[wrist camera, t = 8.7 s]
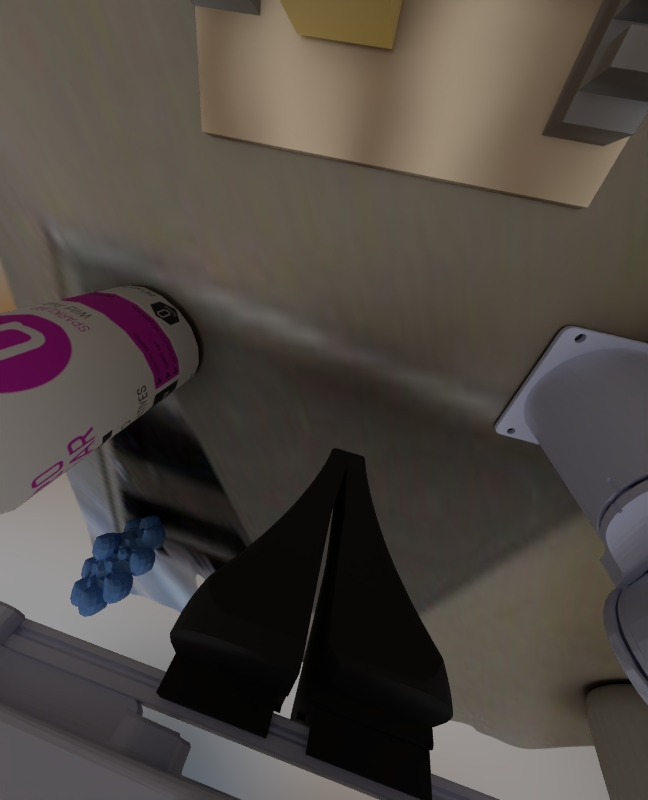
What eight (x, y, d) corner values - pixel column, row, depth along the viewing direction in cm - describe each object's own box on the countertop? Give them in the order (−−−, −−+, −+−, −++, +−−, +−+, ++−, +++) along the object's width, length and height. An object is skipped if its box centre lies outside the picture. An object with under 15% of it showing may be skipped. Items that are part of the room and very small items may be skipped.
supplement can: (108, 264, 20) (-354, 326, 8) (211, 314, 20) (-74, 451, 8) (114, 355, 25) (-169, 486, 12) (198, 395, 25) (4, 561, 13)
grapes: (164, 491, 35) (73, 596, 25) (195, 525, 38) (125, 630, 28) (110, 500, 40) (15, 591, 30) (142, 529, 42) (65, 621, 33)
